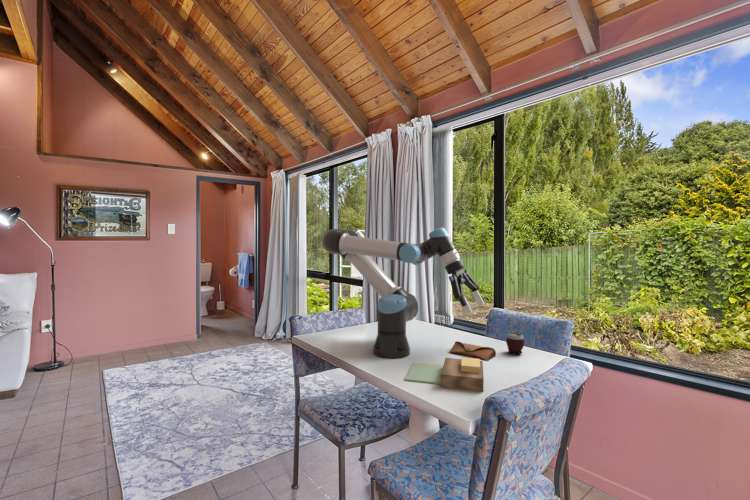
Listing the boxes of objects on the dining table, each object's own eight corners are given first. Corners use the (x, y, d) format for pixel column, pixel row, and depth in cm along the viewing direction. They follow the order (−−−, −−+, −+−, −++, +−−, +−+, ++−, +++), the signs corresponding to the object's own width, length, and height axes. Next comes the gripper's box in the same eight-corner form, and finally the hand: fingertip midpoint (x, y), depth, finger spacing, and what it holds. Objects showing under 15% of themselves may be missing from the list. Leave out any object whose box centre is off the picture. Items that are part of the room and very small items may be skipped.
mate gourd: (502, 351, 159) (503, 316, 159) (519, 350, 161) (520, 315, 161) (513, 356, 152) (513, 319, 152) (530, 355, 154) (530, 319, 154)
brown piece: (440, 386, 119) (440, 374, 119) (445, 368, 137) (445, 357, 137) (483, 391, 116) (483, 378, 116) (482, 372, 133) (482, 360, 133)
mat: (404, 380, 124) (404, 379, 124) (413, 363, 142) (413, 362, 142) (441, 384, 121) (441, 382, 121) (445, 366, 139) (445, 365, 139)
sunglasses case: (446, 352, 156) (450, 337, 159) (452, 357, 161) (455, 342, 164) (489, 361, 146) (492, 344, 148) (494, 366, 150) (497, 350, 153)
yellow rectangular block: (460, 371, 122) (460, 365, 122) (461, 362, 131) (462, 357, 131) (480, 373, 120) (480, 367, 120) (479, 364, 129) (479, 358, 129)
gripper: (446, 263, 145) (471, 313, 141) (471, 255, 165) (494, 299, 161) (431, 270, 150) (455, 320, 146) (457, 262, 169) (479, 305, 166)
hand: (475, 309), depth 154 cm, fingers open, 13 cm apart
